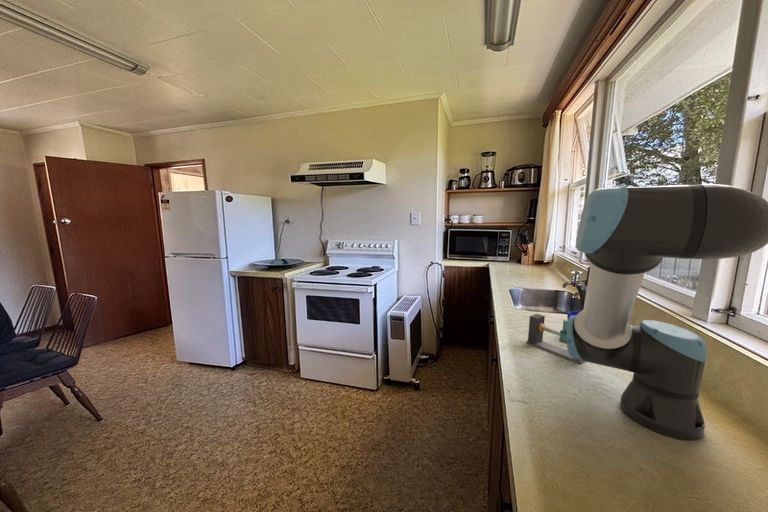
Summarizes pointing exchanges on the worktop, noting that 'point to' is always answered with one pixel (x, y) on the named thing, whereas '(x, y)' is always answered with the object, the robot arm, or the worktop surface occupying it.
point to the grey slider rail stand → (537, 337)
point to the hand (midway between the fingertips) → (593, 337)
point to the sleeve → (564, 332)
